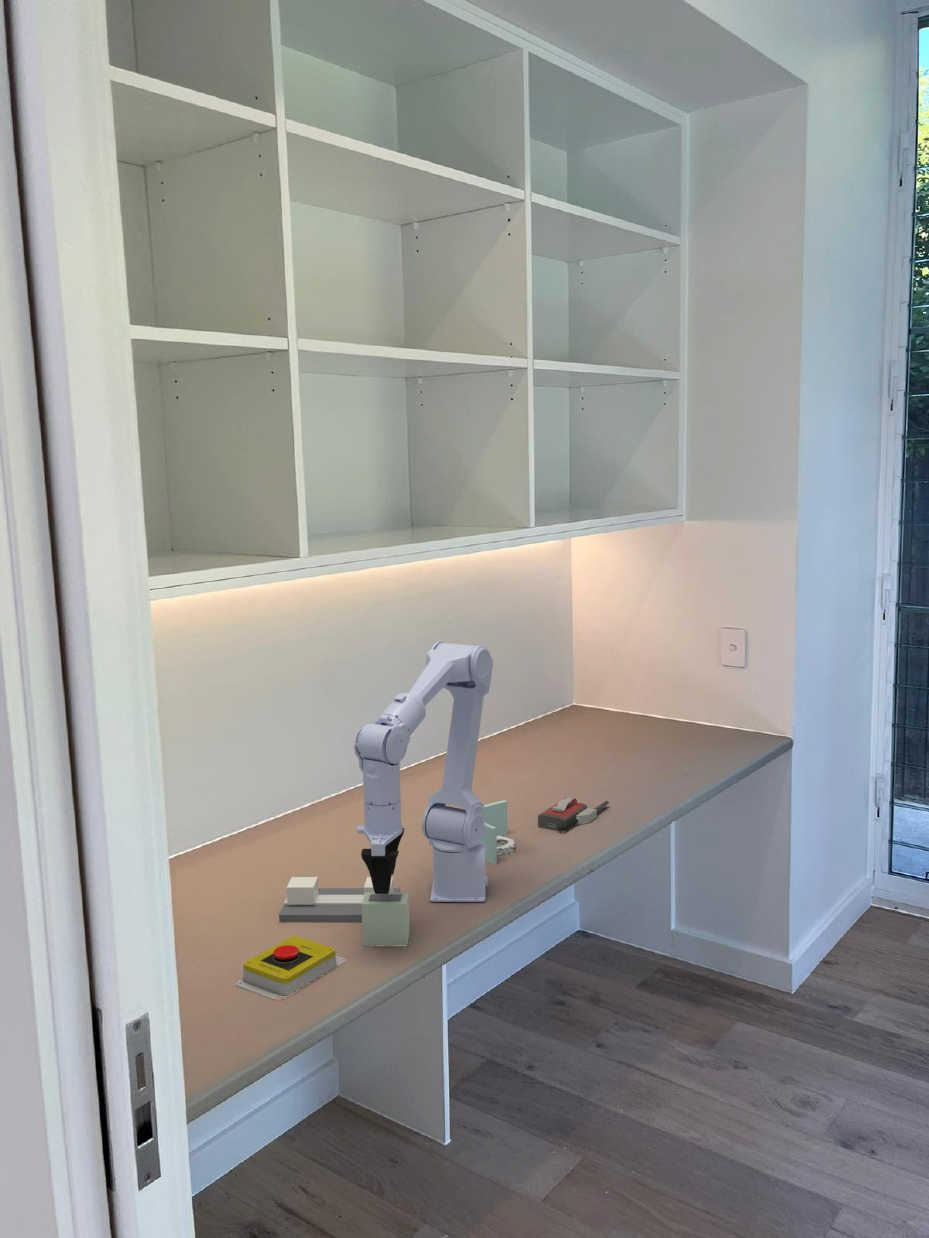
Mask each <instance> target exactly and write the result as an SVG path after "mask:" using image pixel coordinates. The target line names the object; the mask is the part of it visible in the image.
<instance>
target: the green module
mask: <svg viewBox="0 0 929 1238" xmlns="http://www.w3.org/2000/svg"><path fill="white" fill-rule="evenodd" d="M361 905H362V922H361V931H362V936H361V937H362V947H379V946H378V945H407V944H409V940H408V939H410V935H409V934H411V933H410V931H411V930H410V925H411V924H410V893H409V892H401V891H400V892H389V893H388V894H375V892H365V895H364V898H363V901H362V904H361ZM371 945H372V946H371ZM376 945H377V946H376ZM407 946H408V945H407Z"/></svg>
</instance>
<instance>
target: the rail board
mask: <svg viewBox="0 0 929 1238" xmlns="http://www.w3.org/2000/svg"><path fill="white" fill-rule="evenodd" d="M365 892H374V889H373V885H372V881H371V876H367V877H366V880H365V883H364V886H363V888H362V887H361V888H360V887H357V888H356V887H352V888H351V887H346V888H345V887H344V888H343V887H339V888H338V887H335V888H334V887H329V888H328V887H320V888H319V877H318V876H291V878H290V880H289V882H288V884H287V886H286V896H285V897H286V898H285V899H284V901H283V906H282V908H281V910H280V912H279V914H278V919H279V920H278V921H279V923H281V922H282V923H290V922H291V923H310V922H311V923H313V922H314V923H325V922H326V923H331V922H332V923H340V922H341V923H362V905H361V904H362V901H363V898H364V895H365ZM389 892H401V888H399V887H394V876H391V884H390V889H389Z"/></svg>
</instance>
